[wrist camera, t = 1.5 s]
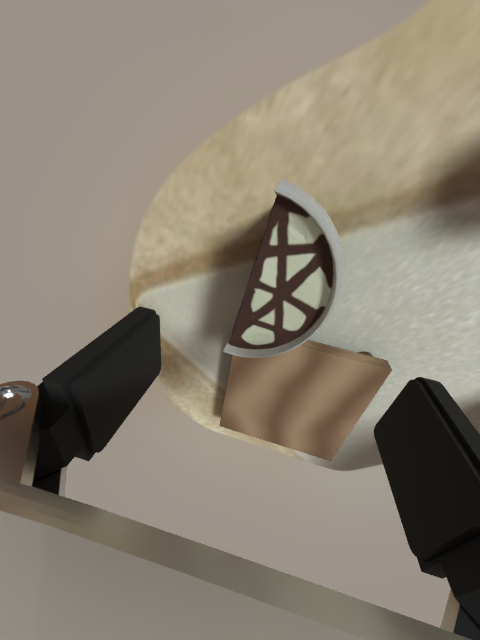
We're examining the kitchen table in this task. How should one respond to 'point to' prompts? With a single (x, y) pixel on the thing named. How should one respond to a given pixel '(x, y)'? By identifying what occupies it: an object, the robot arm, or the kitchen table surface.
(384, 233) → the kitchen table surface
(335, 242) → the food container
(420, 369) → the kitchen table surface
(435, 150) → the kitchen table surface
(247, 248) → the kitchen table surface
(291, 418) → the tan square plate
